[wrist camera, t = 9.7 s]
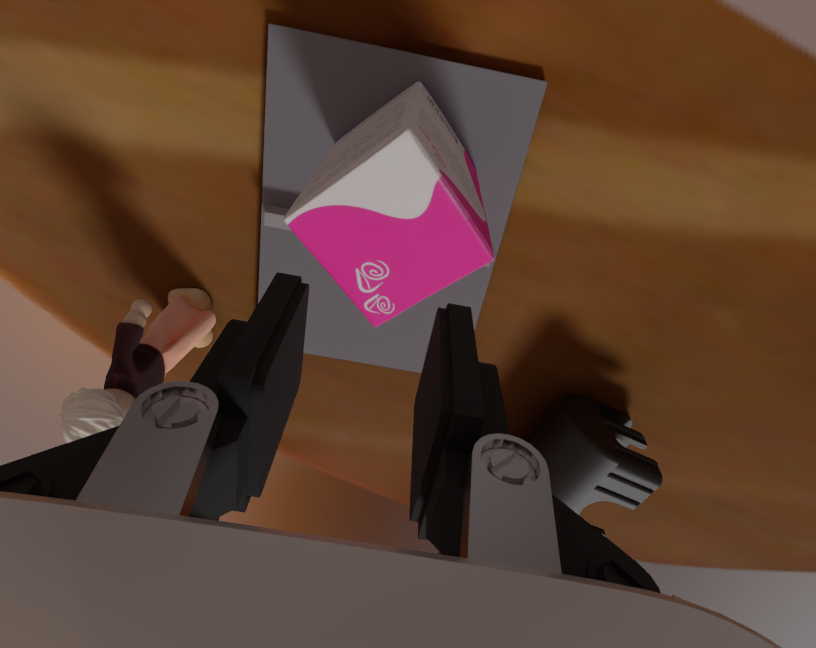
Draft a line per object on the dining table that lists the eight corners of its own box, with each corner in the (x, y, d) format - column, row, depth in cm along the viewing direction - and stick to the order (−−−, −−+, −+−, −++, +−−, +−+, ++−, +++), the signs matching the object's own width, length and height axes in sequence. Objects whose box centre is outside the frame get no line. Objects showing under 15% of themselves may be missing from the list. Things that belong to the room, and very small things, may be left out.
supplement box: (329, 144, 28) (275, 217, 18) (421, 76, 26) (415, 115, 16) (392, 229, 30) (373, 333, 21) (480, 172, 29) (505, 257, 19)
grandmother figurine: (231, 357, 36) (146, 504, 26) (177, 356, 37) (69, 503, 26) (208, 255, 32) (95, 379, 22) (147, 255, 33) (5, 377, 22)
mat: (545, 80, 27) (552, 85, 25) (459, 374, 36) (460, 390, 35) (271, 23, 26) (261, 24, 24) (258, 339, 36) (251, 354, 34)
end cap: (554, 374, 36) (578, 443, 30) (637, 411, 38) (674, 484, 32) (481, 464, 41) (489, 539, 35) (556, 495, 42) (576, 571, 37)
